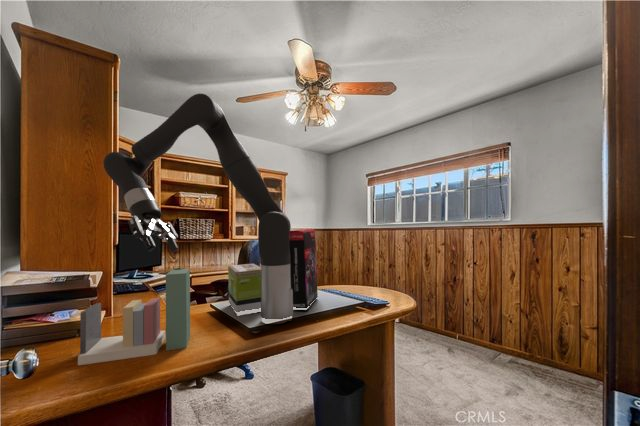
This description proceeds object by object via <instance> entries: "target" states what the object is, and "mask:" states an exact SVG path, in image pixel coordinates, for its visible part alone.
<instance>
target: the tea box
mask: <svg viewBox="0 0 640 426" xmlns="http://www.w3.org/2000/svg"><path fill="white" fill-rule="evenodd" d="M227 274H228V275H227V276H228V304H229V303H230V304H231V306H232V307H233V308H234V310H235V311H236V312H240V311H245V310H252V309H259V308H261V272H260V265H257V264H255V263H245V264H243V263H242V264H235V265H228V266H227Z"/></svg>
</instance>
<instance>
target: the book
mask: <svg viewBox="0 0 640 426" xmlns="http://www.w3.org/2000/svg"><path fill="white" fill-rule="evenodd" d="M190 340H191V269H190V268H186V269H184V268H183V269H171V270H169V271H168V272H167V273H166V274H165V351H166V352H167V351H173V350H181V349H187V348H188V346H189V341H190Z"/></svg>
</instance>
